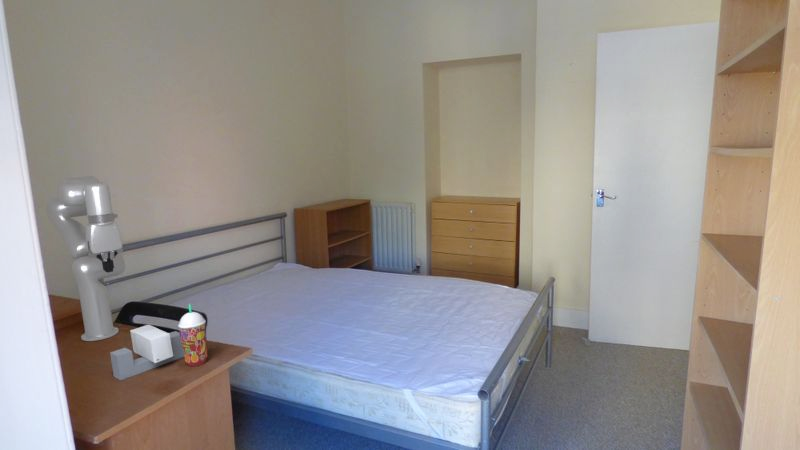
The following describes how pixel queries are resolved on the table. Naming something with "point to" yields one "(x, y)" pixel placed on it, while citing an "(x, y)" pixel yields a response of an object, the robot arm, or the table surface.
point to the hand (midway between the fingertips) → (109, 271)
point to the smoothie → (193, 338)
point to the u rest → (141, 359)
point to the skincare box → (151, 343)
